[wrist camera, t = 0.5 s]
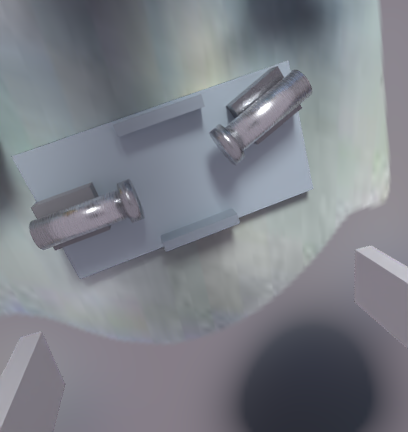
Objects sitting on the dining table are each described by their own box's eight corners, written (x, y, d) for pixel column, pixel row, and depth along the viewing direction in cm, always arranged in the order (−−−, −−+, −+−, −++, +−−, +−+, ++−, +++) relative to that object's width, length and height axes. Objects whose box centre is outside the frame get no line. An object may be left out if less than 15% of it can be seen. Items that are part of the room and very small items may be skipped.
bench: (16, 154, 32) (2, 159, 28) (282, 62, 34) (298, 56, 31) (82, 272, 37) (76, 289, 34) (307, 186, 40) (323, 193, 36)
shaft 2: (200, 127, 33) (212, 130, 28) (273, 65, 33) (299, 56, 27) (227, 162, 35) (243, 171, 30) (296, 105, 34) (325, 104, 29)
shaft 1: (34, 209, 31) (19, 223, 27) (129, 174, 32) (127, 183, 28) (54, 244, 32) (43, 262, 29) (144, 211, 33) (145, 224, 29)
